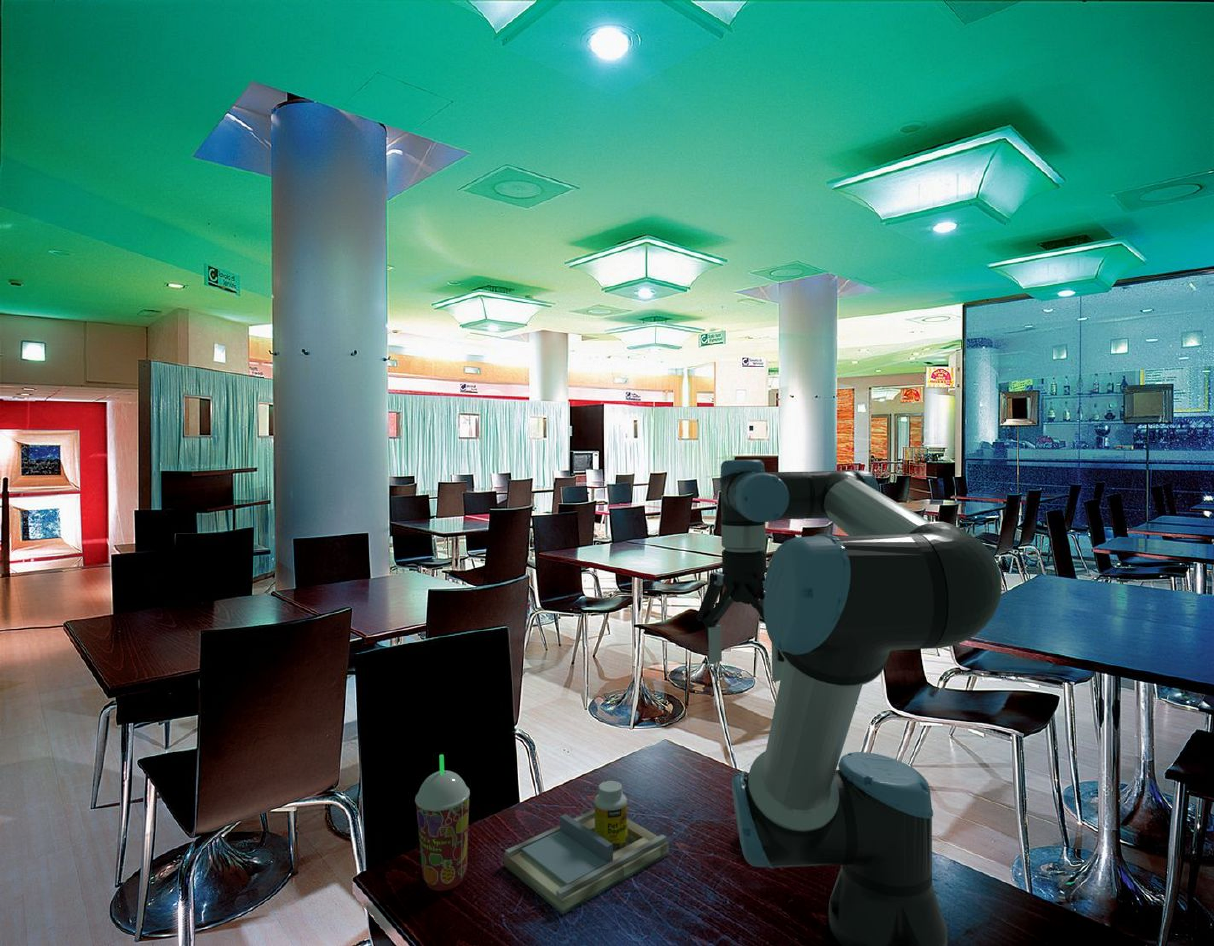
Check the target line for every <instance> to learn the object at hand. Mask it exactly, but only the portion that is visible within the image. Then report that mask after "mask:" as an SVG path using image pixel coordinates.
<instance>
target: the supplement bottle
mask: <svg viewBox="0 0 1214 946" xmlns="http://www.w3.org/2000/svg"><path fill="white" fill-rule="evenodd" d="M593 807H594V808H593V810H594V812H595V833H596V834H598V835H599V836H601V837H603V838H604V839H606V840H607V841H609V842H610V843H612V844H613V853H615V852H617V851H618V850H620V849H622V848H624V847H626V846H627V842H628V837H627V819H628V800H627V796H626V795H625V794H623V786H622V784H621V783H620V782H618V781H615V780H606V781H603V782H601V783H600V784H598V793H597V795H596V796H595V797H594V802H593Z"/></svg>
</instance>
